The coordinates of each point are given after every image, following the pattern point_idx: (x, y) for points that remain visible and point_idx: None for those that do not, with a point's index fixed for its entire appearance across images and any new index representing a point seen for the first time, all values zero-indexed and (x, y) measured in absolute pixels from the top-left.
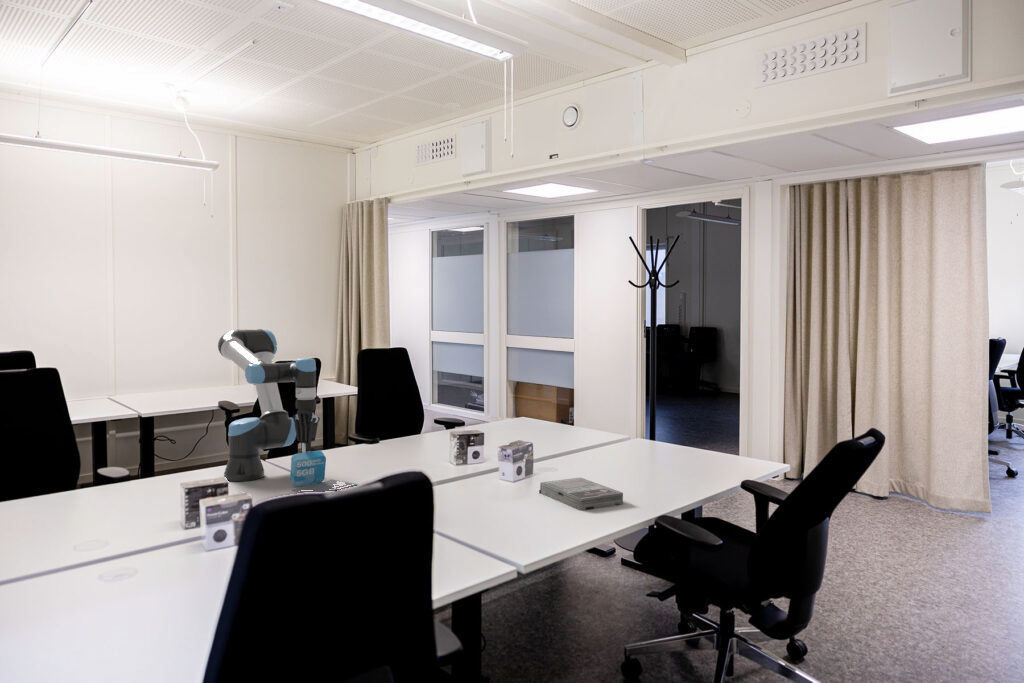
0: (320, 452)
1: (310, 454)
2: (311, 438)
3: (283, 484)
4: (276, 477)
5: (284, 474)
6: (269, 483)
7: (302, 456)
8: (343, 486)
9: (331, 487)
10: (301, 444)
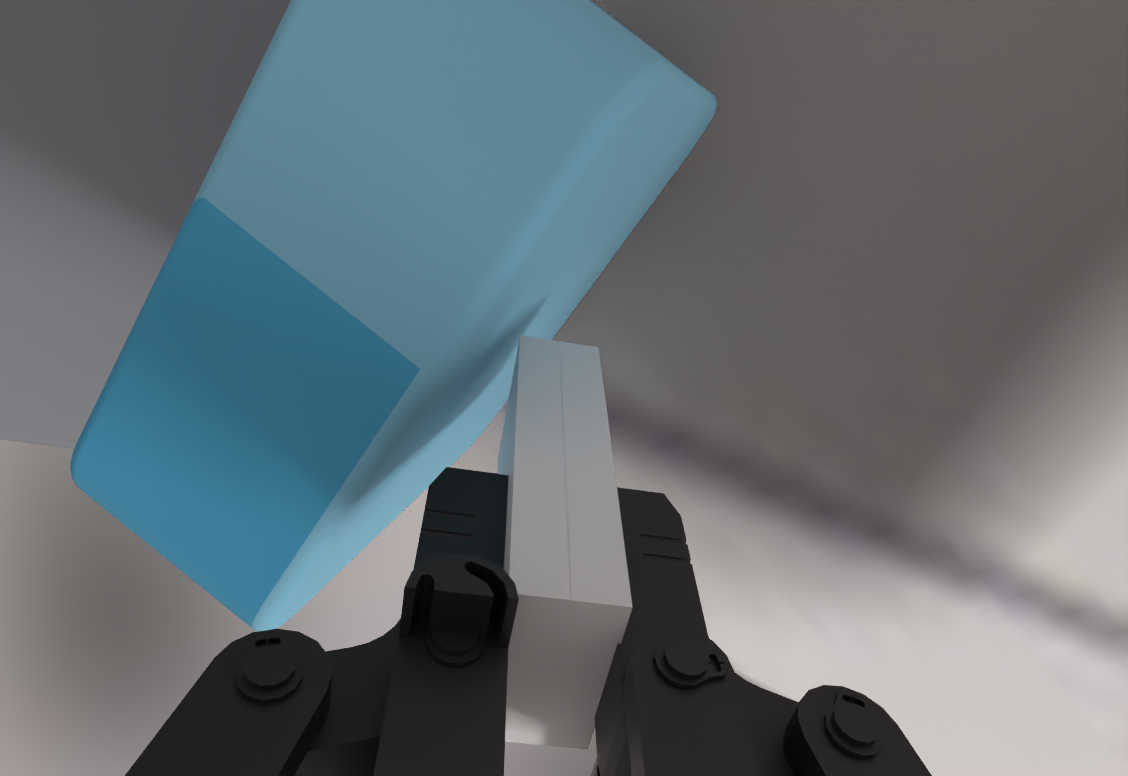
0: (190, 551)
1: (274, 358)
2: (158, 764)
3: (833, 100)
4: (1113, 361)
5: (1081, 496)
6: (1062, 64)
7: (350, 158)
8: (5, 288)
9: (81, 184)
10: (692, 607)
